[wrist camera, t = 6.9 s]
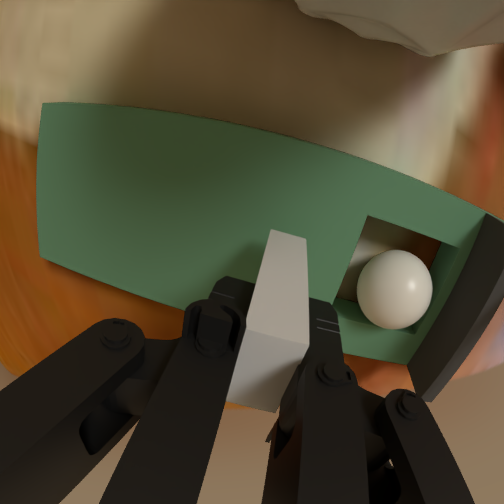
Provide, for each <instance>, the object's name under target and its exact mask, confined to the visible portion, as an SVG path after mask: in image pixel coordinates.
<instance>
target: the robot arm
mask: <svg viewBox="0 0 504 504" xmlns="http://www.w3.org/2000/svg"><path fill="white" fill-rule="evenodd" d="M338 324H339V321H338V315H337V312H336V310H335V309H334V308H333V306H332V305H331V303H330V302H326V301H322V300H318V299H314V298H311V297H309V296H308V267H307V244H306V239H305V238H301V237H298V236H294V235H291V234H287V233H284V232H280V231H276V230H273V229H271V231H270V234H269V238H268V241H267V245H266V249H265V252H264V256H263V259H262V263H261V267H260V270H259V274H258V277H257V281H256V284H255V283H251V282H248V281H244V280H240V279H237V278H233V277H230V276H225V277H223V278H221V279H220V280H218V281H216V283H215V285H214V287H213V289H212V292H211V293H210V295H209V297H208V299H202V300H198V301H195V302H192V303H191V304H190V305H189V306H187V307H186V308H185V315H184V322H183V330H182V337H180V338H178V339H173V340H156V339H146V338H145V336H144V334H143V332H142V330H141V329H140V328H139V327H138V326H137V325H136V324H134V323H132V322H130V321H127V320H125V319H117V318H112V319H104V320H102V321H100V322H98V323H95V324H94V325H92V326H91V327H90V328H88V329H87V330H85V331H84V332H82V333H81V334H79V335H78V336H77V337H75V338H74V339H72V340H71V341H69V342H68V343H66V344H65V345H64V346H62V347H61V348H59V349H58V350H57V351H55V352H54V353H52V354H51V355H49V356H48V357H47V358H45V359H44V360H42V361H41V362H40V363H38V364H37V365H35V366H34V367H33V368H31V369H30V370H28V371H27V372H26V373H24V374H23V375H22V376H20V377H19V378H17V379H16V380H15V381H13V382H12V383H11V384H9V385H8V386H7V387H5V388H4V389H2V390H1V391H0V504H59V503H60V502H61V501H62V500H63V499H64V498H65V497H66V496H67V495H68V494H69V493H70V492H71V491H72V489H74V488H75V486H77V485H78V484H79V483H80V482H81V481H82V479H84V477H85V476H86V475H87V474H88V473H89V472H90V471H91V470H92V469H93V468H94V467H95V466H96V465H97V464H98V463H99V462H100V461H101V460H102V459H103V458H104V457H105V456H106V454H107V453H108V452H109V451H110V450H111V449H112V448H113V447H114V446H115V445H116V444H117V443H118V442H119V441H120V440H121V439H122V438H123V436H124V435H125V434H126V433H127V432H128V431H129V430H130V429H131V428H132V427H133V426H134V425H135V424H136V422H137V421H138V420H139V419H140V420H139V422H138V424H137V426H136V428H135V430H134V432H133V434H132V436H131V438H130V440H129V442H128V444H127V446H126V448H125V450H124V452H123V454H122V456H121V458H120V460H119V462H118V464H117V467H116V469H115V471H114V473H113V475H112V477H111V479H110V481H109V483H108V485H107V487H106V490H105V492H104V494H103V496H102V498H101V500H100V502H99V504H196V503H197V500H198V497H199V493H200V490H201V486H202V483H203V480H204V476H205V473H206V469H207V465H208V462H209V459H210V455H211V452H212V448H213V445H214V441H215V438H216V434H217V430H218V427H219V423H220V420H221V416H222V412H223V409H224V405H225V402H226V401H228V402H232V403H235V404H239V405H243V406H247V407H251V408H255V409H259V410H264V411H268V412H273V413H276V411H277V409H278V407H279V405H280V411H279V417H278V419H277V421H276V423H275V424H274V426H273V428H272V429H271V431H270V433H269V435H268V436H267V439H266V441H265V442H268V443H269V442H270V440H271V445H270V452H269V459H268V466H267V472H266V479H265V485H264V491H263V497H262V503H261V504H475V503H474V501H473V498H472V496H471V494H470V491H469V489H468V487H467V485H466V483H465V480H464V478H463V476H462V474H461V472H460V469H459V467H458V465H457V463H456V461H455V459H454V457H453V455H452V453H451V451H450V449H449V447H448V445H447V443H446V441H445V439H444V437H443V435H442V433H441V431H440V429H439V427H438V425H437V423H436V421H435V420H434V417H433V416H432V414H431V412H430V410H429V408H428V407H427V405H426V403H425V402H424V401H423V399H422V398H421V397H419V396H418V395H417V394H415V393H414V392H411V391H409V390H407V389H396V390H392V391H391V392H390V393H389V394H388V395H387V396H386V397H385V398H383V397H381V396H378V395H376V394H374V393H371V392H369V391H367V390H365V389H363V388H361V387H360V386H358V382H357V379H356V376H355V373H354V372H353V371H352V370H351V369H350V367H349V366H347V365H346V364H344V357H343V350H342V342H341V335H340V334H339V333H340V328H339V325H338ZM389 459H391V461H392V464H393V466H394V467H393V466H391V464H390V462H389Z"/></svg>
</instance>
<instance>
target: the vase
mask: <svg viewBox="0 0 504 504" xmlns="http://www.w3.org/2000/svg"><path fill="white" fill-rule="evenodd" d="M294 1H295V2H296V3H297V5H298V9H299V10H300V11H302V12H303V13H304V14H307V15H309V16H311V17H316V18H321V19H330V20H333V21H335V22H337V23H339V24H341V25H343V26H345V27H347V28H348V29H350V30H352V31H353V32H355V33H356V34H357V35H358V36H360V37H363V38H365V39H374V40H381V41H388V42H393V43H397V44H400V45H402V46H403V47H405V48H407V49H409V50H411V51H413V52H415V53H417V54H419V55H422V56H427V57H434V56H435V55H439V54H443V53H447V52H452V51H456V50H461V49H466V48H471V47H477V46H484V45H492V44H501V43H504V0H294Z"/></svg>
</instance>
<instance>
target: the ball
mask: <svg viewBox="0 0 504 504" xmlns="http://www.w3.org/2000/svg"><path fill="white" fill-rule="evenodd" d="M431 297H432V280H431V276H430V273H429V271H428V269H427V267H426V266H425V265H424V263H423V262H422V261H421V260H420V259H419V258H418V257H416V256H415V255H413V254H411V253H409V252H406V251H402V250H389V251H385V252H382V253H380V254H378V255H376V256H375V257H373V258H372V259H371V260H370V261H369V262H368V263H367V264H366V265H365V267H364V268H363V270H362V272H361V273H360V276H359V279H358V283H357V298H358V302H359V305H360V308H361V310H362V312H363V313H364V315H365V316H366V317H367V318H368V319H369V320H370V321H371V322H372V323H374V324H375V325H377V326H379V327H382V328H385V329H402V328H405V327H408V326H410V325H412V324H414V323H415V322H416V321H418V320H419V319H420V318H421V317H422V316H423V314H424V313H425V312H426V310H427V308H428V306H429V304H430V301H431Z"/></svg>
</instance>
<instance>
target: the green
mask: <svg viewBox="0 0 504 504" xmlns="http://www.w3.org/2000/svg"><path fill="white" fill-rule="evenodd" d="M36 200H37V227H38V241H39V253H40V257H42V258H44V259H47V260H49V261H51V262H54V263H56V264H58V265H61V266H63V267H66V268H68V269H70V270H73V271H75V272H78V273H80V274H83V275H85V276H88V277H91V278H93V279H96V280H98V281H101V282H104V283H106V284H109V285H112V286H114V287H117V288H120V289H122V290H125V291H128V292H131V293H133V294H136V295H139V296H142V297H145V298H148V299H151V300H154V301H157V302H159V303H162V304H165V305H168V306H172V307H175V308H178V309H181V310H184V311H185V308H186V307H187V306H189V305H190V304H191V303H192V302H195V301H198V300H202V299H208V297H209V295H210V293H211V292H212V289H213V287H214V285H215V283H216V281H218V280H220V279H221V278H223V277H225V276H230V277H233V278H237V279H240V280H244V281H248V282H251V283H255V284H256V281H257V277H258V274H259V270H260V267H261V263H262V259H263V256H264V252H265V249H266V245H267V241H268V238H269V234H270V231H271V229H273V230H276V231H280V232H284V233H287V234H291V235H294V236H298V237H301V238H305V239H306V244H307V267H308V296H309V297H311V298H314V299H318V300H322V301H326V302H330V303H331V305H332V306H333V308H334V309H335V310H336V312H337V315H338V321H339V324H338V325H339V328H340V333H339V334H340V335H341V342H342V350H343V353H346V354H351V355H356V356H361V357H366V358H371V359H376V360H382V361H387V362H393V363H398V364H404V365H407V367H408V370H409V373H410V376H411V380H412V383H413V386H414V389H415V392H416V394H417V395H418V396H419V397H421V398H422V399H423V401H424V402H432V401H433V400H434V399H435V397H436V396H437V395H438V394H439V393H440V391H441V390H442V389H443V388H444V386H445V385H446V384H447V383H448V381H449V380H450V379H451V378H452V376H453V375H454V374H455V372H456V371H457V370H458V368H459V367H460V366H461V364H462V363H463V362H464V360H465V359H466V357H467V356H468V355H469V353H470V352H471V350H472V349H473V347H474V346H475V344H476V343H477V341H478V340H479V338H480V337H481V335H482V334H483V332H484V331H485V329H486V327H487V326H488V324H489V322H490V321H491V319H492V317H493V316H494V314H495V312H496V311H497V309H498V307H499V305H500V304H501V302H502V300H503V298H504V221H503V220H502V219H500V218H498V217H496V216H494V215H492V214H490V213H488V212H487V211H485V210H483V209H481V208H479V207H477V206H475V205H473V204H471V203H469V202H467V201H464V200H462V199H460V198H458V197H456V196H454V195H452V194H450V193H447V192H445V191H443V190H441V189H438V188H436V187H434V186H432V185H429V184H427V183H425V182H422V181H420V180H417V179H415V178H413V177H410V176H408V175H405V174H403V173H400V172H398V171H395V170H392V169H390V168H387V167H384V166H382V165H379V164H376V163H373V162H371V161H368V160H365V159H362V158H359V157H356V156H353V155H350V154H347V153H344V152H341V151H338V150H335V149H332V148H328V147H325V146H322V145H318V144H315V143H312V142H308V141H305V140H301V139H298V138H294V137H290V136H286V135H283V134H279V133H275V132H271V131H267V130H263V129H258V128H254V127H250V126H245V125H241V124H236V123H231V122H226V121H221V120H216V119H211V118H206V117H200V116H194V115H188V114H182V113H176V112H169V111H162V110H154V109H146V108H138V107H128V106H118V105H106V104H91V103H71V102H57V103H43V104H42V111H41V119H40V128H39V139H38V153H37V180H36ZM367 215H369V216H372V217H375V218H378V219H381V220H384V221H387V222H390V223H393V224H395V225H398V226H401V227H404V228H407V229H410V230H412V231H415V232H418V233H421V234H423V235H426V236H429V237H431V238H434V239H437V240H439V241H442V243H441V245H440V247H439V250H438V252H437V254H436V257H435V259H434V261H433V263H432V265H431V267H430V270H429V273H430V276H431V280H432V297H431V301H430V304H429V306H428V308H427V310H426V312H425V313H424V314H423V316H422V317H421V318H420V319H419V320H418V321H416V322H415V323H414V324H412V325H410V326H408V327H405V328H402V329H385V328H382V327H379V326H377V325H375V324H374V323H372V322H371V321H370V320H369V319H368V318H367V317H366V316H365V315H364V313H363V312H362V310H361V308H360V305H359V303H356V302H352V301H348V300H344V299H340V298H337V297H336V294H337V292H338V290H339V287H340V285H341V283H342V280H343V278H344V275H345V273H346V270H347V268H348V265H349V263H350V260H351V258H352V255H353V253H354V250H355V248H356V245H357V242H358V240H359V237H360V234H361V232H362V229H363V226H364V223H365V221H366V218H367Z"/></svg>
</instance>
